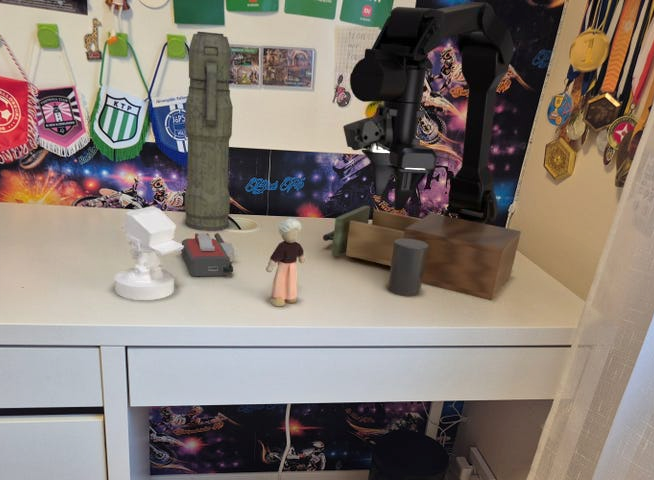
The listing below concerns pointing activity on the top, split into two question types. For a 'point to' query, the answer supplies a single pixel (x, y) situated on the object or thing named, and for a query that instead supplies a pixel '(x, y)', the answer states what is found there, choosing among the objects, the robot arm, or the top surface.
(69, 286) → the top surface
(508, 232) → the cabinet
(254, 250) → the top surface
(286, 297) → the grandmother figurine
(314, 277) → the top surface
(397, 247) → the cup
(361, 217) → the drawer
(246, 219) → the top surface
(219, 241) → the walkie-talkie
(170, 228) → the character figurine
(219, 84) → the thermos
